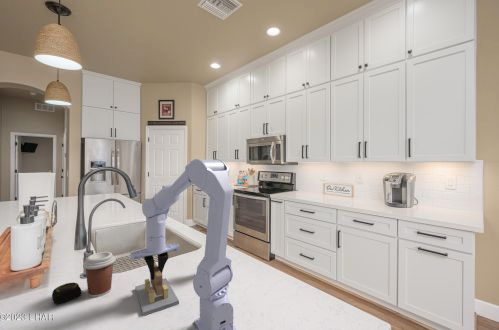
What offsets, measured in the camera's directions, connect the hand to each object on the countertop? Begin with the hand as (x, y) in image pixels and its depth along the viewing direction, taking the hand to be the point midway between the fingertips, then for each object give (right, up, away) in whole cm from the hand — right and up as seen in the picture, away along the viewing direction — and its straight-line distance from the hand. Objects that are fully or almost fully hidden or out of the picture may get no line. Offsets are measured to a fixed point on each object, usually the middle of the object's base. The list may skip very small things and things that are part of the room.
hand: (156, 277), depth 74 cm
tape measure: (-27, -6, -2) cm, 28 cm away
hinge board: (0, -6, 0) cm, 6 cm away
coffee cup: (-20, -6, +3) cm, 21 cm away
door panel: (0, -3, 0) cm, 3 cm away
